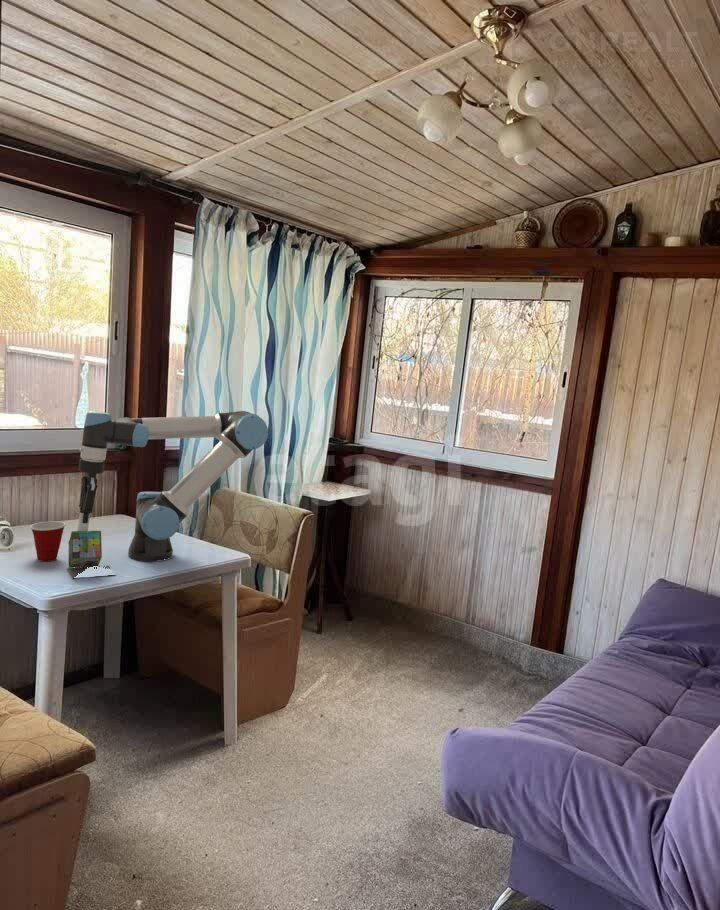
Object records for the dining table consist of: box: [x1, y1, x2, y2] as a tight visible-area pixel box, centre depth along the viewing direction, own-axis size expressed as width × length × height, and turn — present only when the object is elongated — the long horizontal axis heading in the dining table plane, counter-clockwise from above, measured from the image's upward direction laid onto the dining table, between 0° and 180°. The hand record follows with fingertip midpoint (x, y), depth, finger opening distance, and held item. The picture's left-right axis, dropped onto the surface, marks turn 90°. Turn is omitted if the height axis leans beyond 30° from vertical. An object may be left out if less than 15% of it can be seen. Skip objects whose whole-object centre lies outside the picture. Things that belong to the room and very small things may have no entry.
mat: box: [66, 565, 111, 579], centre depth 219 cm, size 13×10×1 cm
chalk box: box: [67, 530, 103, 568], centre depth 219 cm, size 9×9×15 cm
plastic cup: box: [29, 520, 67, 562], centre depth 227 cm, size 11×11×12 cm
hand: (82, 531), depth 220 cm, fingers closed
